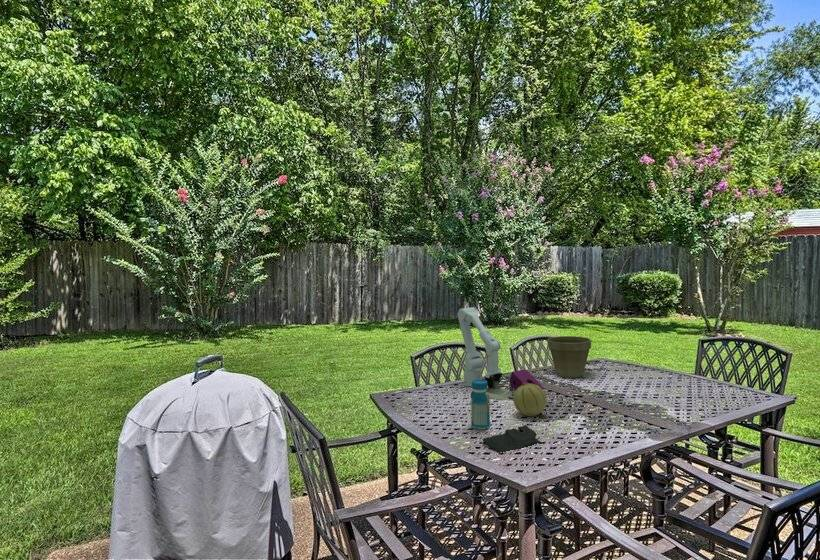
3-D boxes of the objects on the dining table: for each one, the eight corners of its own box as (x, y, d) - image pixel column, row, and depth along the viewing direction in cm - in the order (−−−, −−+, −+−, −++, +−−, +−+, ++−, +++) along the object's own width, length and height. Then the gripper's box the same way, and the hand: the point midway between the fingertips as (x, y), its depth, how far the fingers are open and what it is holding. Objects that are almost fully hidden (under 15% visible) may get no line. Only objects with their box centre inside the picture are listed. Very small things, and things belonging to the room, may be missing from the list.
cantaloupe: (550, 420, 218) (549, 387, 217) (516, 421, 219) (515, 387, 218) (542, 409, 233) (542, 378, 232) (511, 410, 234) (510, 379, 233)
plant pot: (545, 370, 307) (544, 335, 306) (586, 369, 304) (586, 335, 302) (551, 380, 282) (550, 343, 281) (596, 380, 279) (595, 342, 278)
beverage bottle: (477, 431, 208) (476, 384, 207) (467, 425, 216) (466, 380, 215) (494, 427, 212) (493, 382, 210) (483, 421, 219) (482, 377, 218)
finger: (487, 391, 266) (487, 382, 265) (491, 389, 269) (490, 380, 269) (495, 392, 263) (495, 383, 263) (498, 390, 266) (498, 381, 266)
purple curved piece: (541, 402, 263) (521, 381, 277) (546, 389, 259) (525, 369, 273) (528, 405, 258) (508, 383, 272) (532, 392, 255) (512, 371, 269)
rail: (471, 395, 260) (471, 383, 259) (479, 391, 267) (478, 379, 267) (503, 400, 249) (502, 388, 249) (510, 395, 257) (509, 383, 256)
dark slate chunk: (477, 443, 197) (476, 431, 197) (519, 431, 207) (519, 420, 207) (501, 456, 184) (500, 444, 183) (545, 443, 194) (545, 432, 194)
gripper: (493, 366, 256) (494, 392, 257) (505, 361, 268) (506, 385, 269) (481, 365, 261) (482, 390, 261) (493, 359, 272) (494, 384, 273)
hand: (493, 388), depth 265 cm, fingers open, 7 cm apart
